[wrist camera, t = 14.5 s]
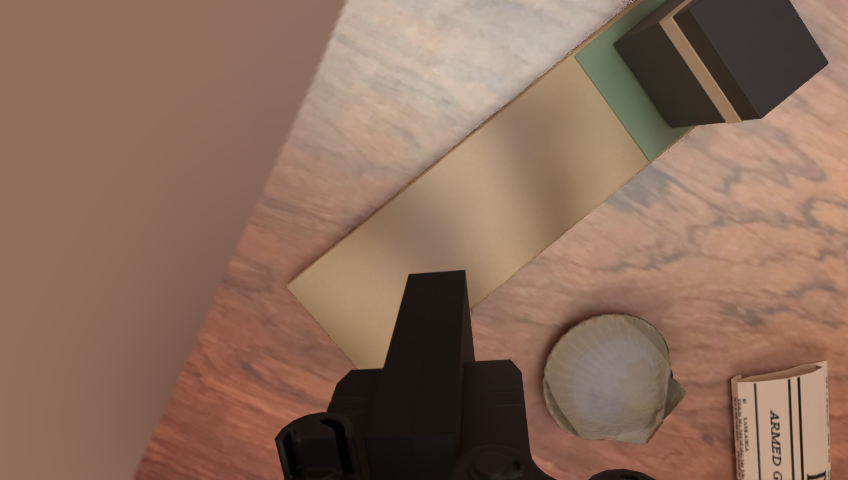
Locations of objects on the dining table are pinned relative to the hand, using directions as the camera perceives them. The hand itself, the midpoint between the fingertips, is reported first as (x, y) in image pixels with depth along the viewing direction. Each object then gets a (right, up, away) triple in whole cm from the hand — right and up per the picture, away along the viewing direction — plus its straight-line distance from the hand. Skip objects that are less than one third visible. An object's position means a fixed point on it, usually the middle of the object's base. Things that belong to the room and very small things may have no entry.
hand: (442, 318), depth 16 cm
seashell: (+11, -6, +22) cm, 26 cm away
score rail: (+6, +6, +20) cm, 22 cm away
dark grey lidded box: (+14, +12, +19) cm, 26 cm away
